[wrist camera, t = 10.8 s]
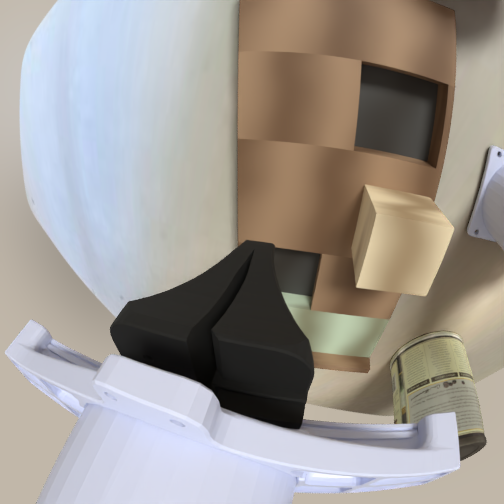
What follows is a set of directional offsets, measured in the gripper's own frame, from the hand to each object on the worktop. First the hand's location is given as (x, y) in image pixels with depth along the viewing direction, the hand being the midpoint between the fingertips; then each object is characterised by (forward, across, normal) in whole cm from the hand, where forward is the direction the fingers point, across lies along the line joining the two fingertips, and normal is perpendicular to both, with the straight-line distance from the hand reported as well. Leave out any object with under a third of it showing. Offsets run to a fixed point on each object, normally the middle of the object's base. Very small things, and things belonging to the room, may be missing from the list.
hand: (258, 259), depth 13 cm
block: (+7, -8, +1) cm, 11 cm away
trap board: (+9, -4, 0) cm, 10 cm away
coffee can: (+10, -20, +18) cm, 29 cm away
